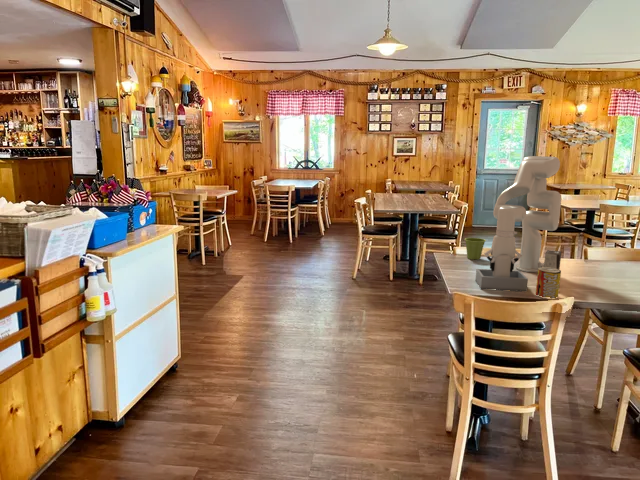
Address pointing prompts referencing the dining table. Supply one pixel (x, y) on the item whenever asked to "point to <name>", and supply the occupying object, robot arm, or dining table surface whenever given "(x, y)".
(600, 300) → the dining table surface
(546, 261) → the coffee box
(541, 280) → the beverage can
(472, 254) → the plant pot
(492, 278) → the bin
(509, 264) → the can
